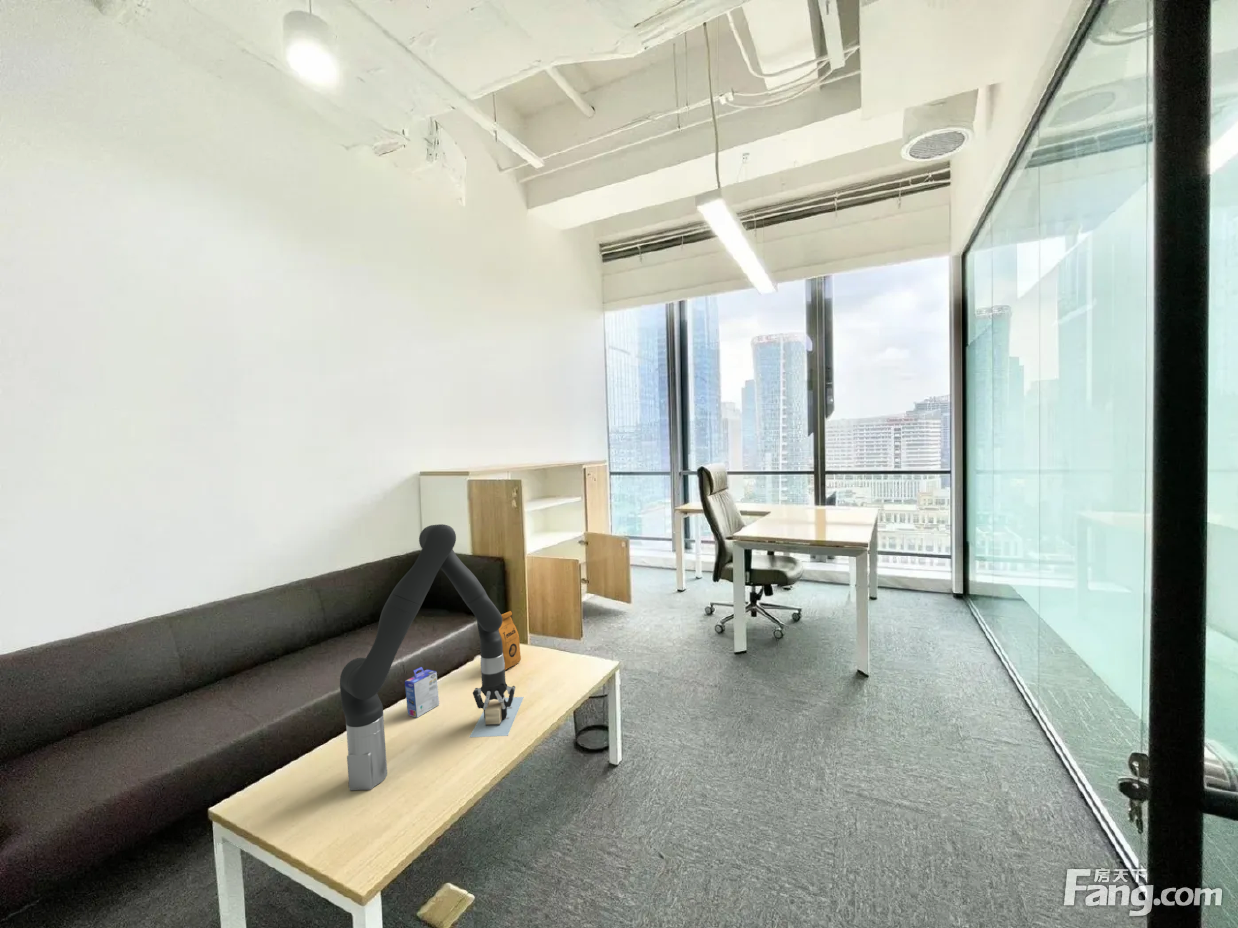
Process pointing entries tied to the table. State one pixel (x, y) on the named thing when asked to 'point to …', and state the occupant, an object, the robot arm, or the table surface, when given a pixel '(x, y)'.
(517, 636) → the coffee package
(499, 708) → the block
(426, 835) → the table surface
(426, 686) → the ink cartridge box
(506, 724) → the board
